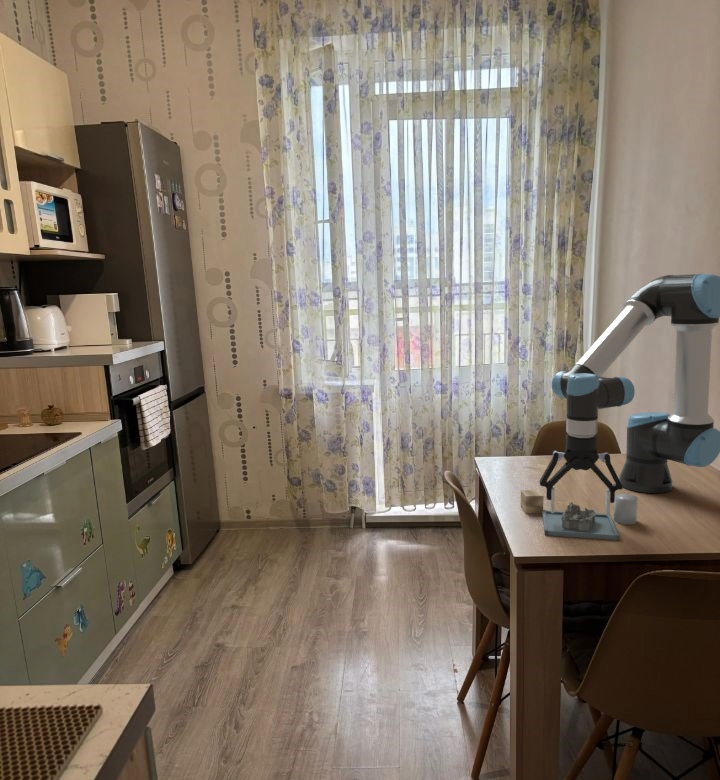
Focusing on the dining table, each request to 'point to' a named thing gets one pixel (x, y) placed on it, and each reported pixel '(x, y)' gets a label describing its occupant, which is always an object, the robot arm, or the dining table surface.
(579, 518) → the grey castle model
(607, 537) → the tray
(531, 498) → the oak block
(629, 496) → the white cylinder
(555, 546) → the dining table surface
